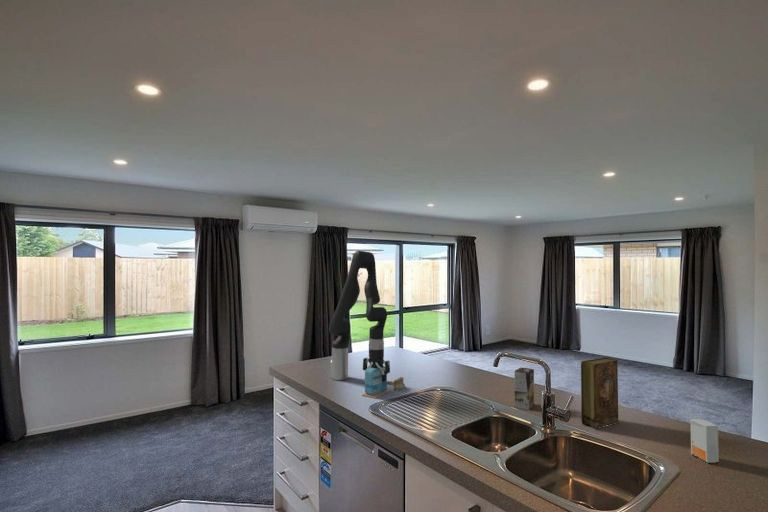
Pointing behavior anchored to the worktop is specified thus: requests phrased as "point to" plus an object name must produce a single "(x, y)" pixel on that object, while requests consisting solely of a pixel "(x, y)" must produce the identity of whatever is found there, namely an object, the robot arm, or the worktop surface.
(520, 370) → the coffee box
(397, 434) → the worktop surface
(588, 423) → the book
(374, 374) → the blue flat block
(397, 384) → the oak rack
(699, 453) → the skincare box
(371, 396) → the terracotta pad
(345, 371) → the robot arm
